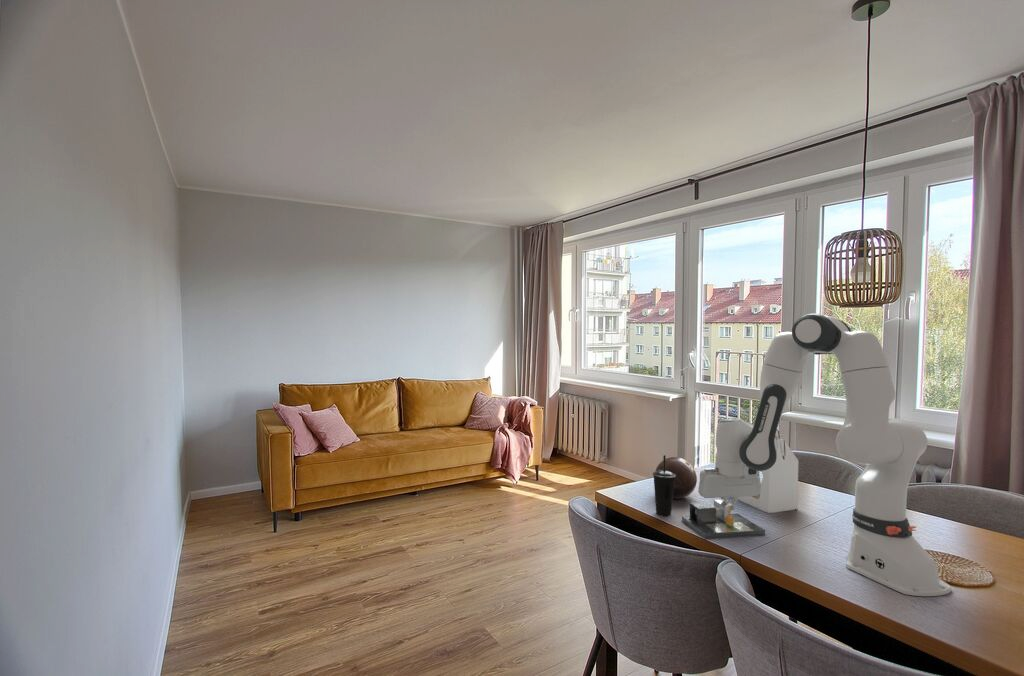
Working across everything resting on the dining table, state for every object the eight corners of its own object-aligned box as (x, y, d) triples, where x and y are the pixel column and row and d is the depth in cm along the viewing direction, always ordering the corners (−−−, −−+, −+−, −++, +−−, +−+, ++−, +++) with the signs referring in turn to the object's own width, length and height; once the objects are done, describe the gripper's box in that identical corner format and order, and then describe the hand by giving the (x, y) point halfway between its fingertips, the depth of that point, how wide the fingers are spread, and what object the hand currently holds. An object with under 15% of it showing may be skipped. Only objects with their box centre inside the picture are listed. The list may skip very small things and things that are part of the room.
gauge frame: (764, 534, 155) (765, 514, 154) (704, 538, 151) (705, 517, 151) (737, 517, 168) (737, 498, 168) (681, 520, 165) (682, 501, 165)
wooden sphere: (697, 506, 179) (698, 464, 179) (653, 501, 183) (654, 460, 183) (695, 493, 193) (696, 454, 193) (655, 489, 198) (655, 451, 197)
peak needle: (733, 525, 156) (733, 506, 156) (729, 525, 156) (730, 506, 156) (729, 523, 158) (729, 504, 158) (725, 523, 158) (726, 504, 158)
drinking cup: (679, 513, 172) (680, 455, 171) (669, 519, 166) (670, 459, 166) (658, 507, 177) (659, 451, 177) (648, 513, 171) (648, 455, 171)
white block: (735, 525, 157) (735, 509, 157) (706, 527, 156) (706, 511, 156) (719, 514, 166) (719, 499, 166) (691, 516, 165) (691, 501, 164)
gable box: (723, 493, 194) (724, 421, 193) (750, 490, 198) (751, 419, 197) (768, 513, 172) (770, 432, 172) (798, 509, 177) (800, 430, 176)
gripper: (705, 471, 159) (704, 514, 159) (764, 469, 162) (763, 511, 162) (695, 466, 165) (694, 507, 165) (751, 464, 168) (751, 504, 168)
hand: (729, 509), depth 164 cm, fingers closed
